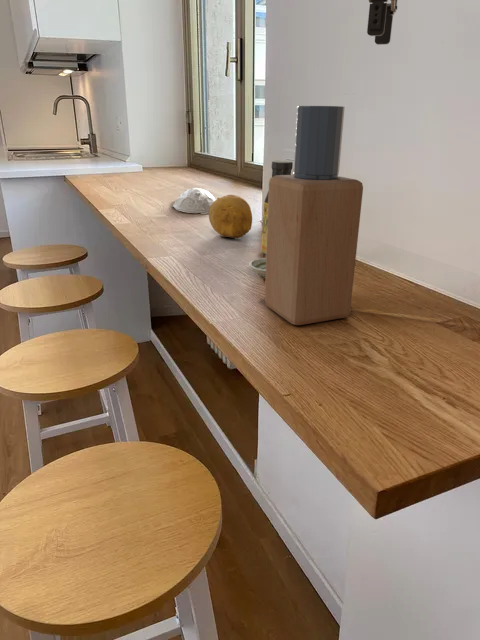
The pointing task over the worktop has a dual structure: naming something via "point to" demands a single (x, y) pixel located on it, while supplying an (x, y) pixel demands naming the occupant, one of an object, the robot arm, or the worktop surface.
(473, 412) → the worktop surface
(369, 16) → the robot arm
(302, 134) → the cup
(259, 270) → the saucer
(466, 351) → the worktop surface
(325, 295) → the block
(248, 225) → the potato
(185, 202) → the white lumpy mound
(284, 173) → the sauce bottle
